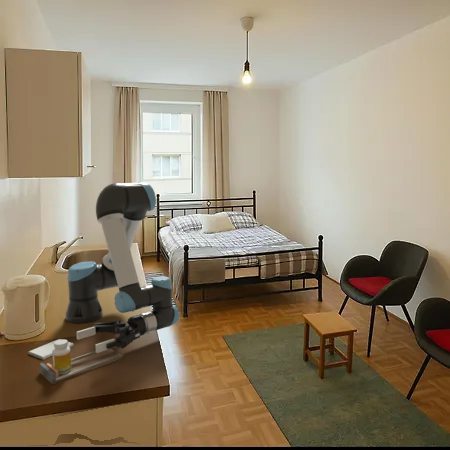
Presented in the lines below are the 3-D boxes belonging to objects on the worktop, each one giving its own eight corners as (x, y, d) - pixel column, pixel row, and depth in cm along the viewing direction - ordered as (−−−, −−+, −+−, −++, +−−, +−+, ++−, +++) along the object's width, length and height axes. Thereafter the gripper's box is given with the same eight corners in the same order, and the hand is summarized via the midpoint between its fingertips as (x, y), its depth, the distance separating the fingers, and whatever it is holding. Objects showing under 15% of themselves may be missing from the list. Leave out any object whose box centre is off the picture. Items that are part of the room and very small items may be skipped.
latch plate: (46, 370, 128) (46, 363, 128) (49, 369, 129) (48, 362, 129) (56, 378, 123) (55, 371, 123) (58, 377, 124) (58, 370, 124)
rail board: (40, 372, 128) (39, 363, 128) (108, 348, 145) (108, 340, 145) (52, 384, 121) (51, 375, 121) (122, 358, 138) (122, 349, 138)
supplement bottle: (74, 370, 129) (73, 341, 127) (58, 376, 125) (56, 347, 123) (66, 364, 132) (64, 336, 131) (50, 371, 128) (48, 342, 127)
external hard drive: (28, 355, 141) (59, 342, 152) (43, 361, 137) (73, 347, 147) (28, 351, 141) (59, 338, 151) (43, 356, 137) (73, 343, 147)
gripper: (161, 345, 140) (105, 366, 125) (123, 324, 157) (70, 340, 142) (161, 324, 138) (104, 343, 124) (123, 306, 156) (69, 320, 141)
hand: (86, 342), depth 133 cm, fingers open, 13 cm apart
